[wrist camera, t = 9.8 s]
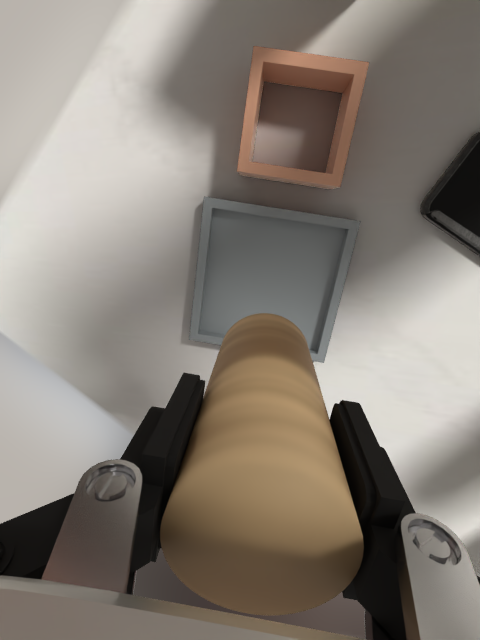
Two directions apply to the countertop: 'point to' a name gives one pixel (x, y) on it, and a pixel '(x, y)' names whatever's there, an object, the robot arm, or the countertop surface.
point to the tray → (270, 269)
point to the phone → (458, 198)
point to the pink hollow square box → (305, 74)
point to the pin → (263, 482)
